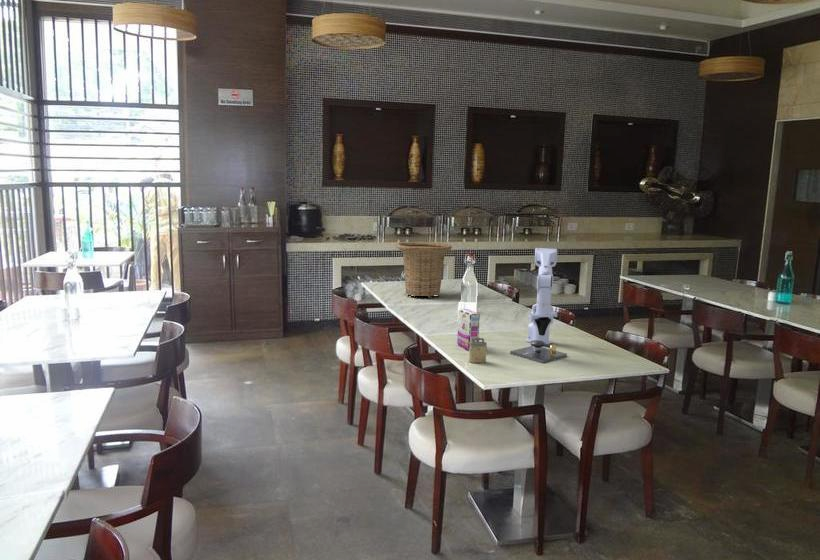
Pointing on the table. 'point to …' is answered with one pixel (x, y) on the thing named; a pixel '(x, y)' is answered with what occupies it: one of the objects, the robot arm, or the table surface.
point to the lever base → (538, 354)
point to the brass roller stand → (544, 345)
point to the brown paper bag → (477, 351)
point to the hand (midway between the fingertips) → (541, 335)
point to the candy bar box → (467, 327)
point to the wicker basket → (423, 266)
